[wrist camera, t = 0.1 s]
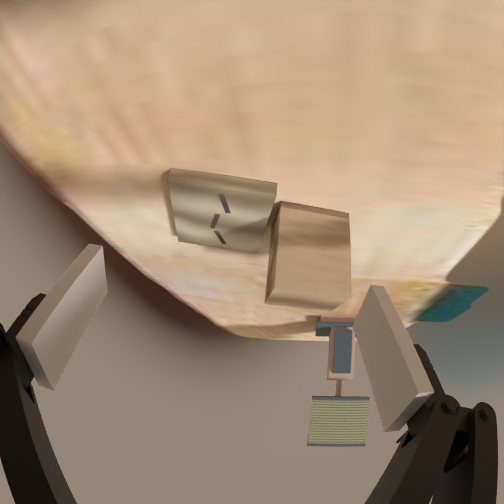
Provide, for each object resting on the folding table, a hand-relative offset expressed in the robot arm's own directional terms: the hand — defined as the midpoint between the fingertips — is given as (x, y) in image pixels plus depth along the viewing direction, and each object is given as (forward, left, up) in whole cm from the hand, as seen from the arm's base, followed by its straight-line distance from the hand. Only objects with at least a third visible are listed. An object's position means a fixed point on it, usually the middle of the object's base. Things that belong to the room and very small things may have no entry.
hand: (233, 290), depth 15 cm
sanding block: (+17, +8, -15) cm, 24 cm away
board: (+18, -2, -15) cm, 24 cm away
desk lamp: (+64, +32, -16) cm, 73 cm away
